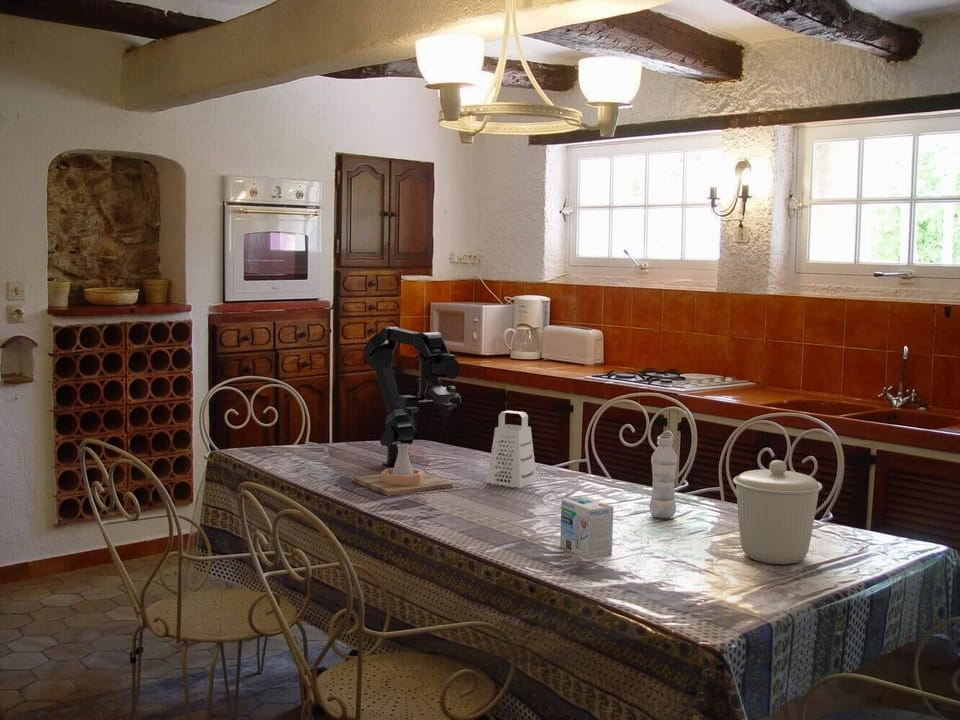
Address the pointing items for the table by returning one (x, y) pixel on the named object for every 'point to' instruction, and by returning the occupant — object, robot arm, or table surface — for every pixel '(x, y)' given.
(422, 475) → the ring
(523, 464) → the grater
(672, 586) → the table surface
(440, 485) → the board
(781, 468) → the canister
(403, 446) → the flask
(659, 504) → the plastic bottle
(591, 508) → the light bulb box
